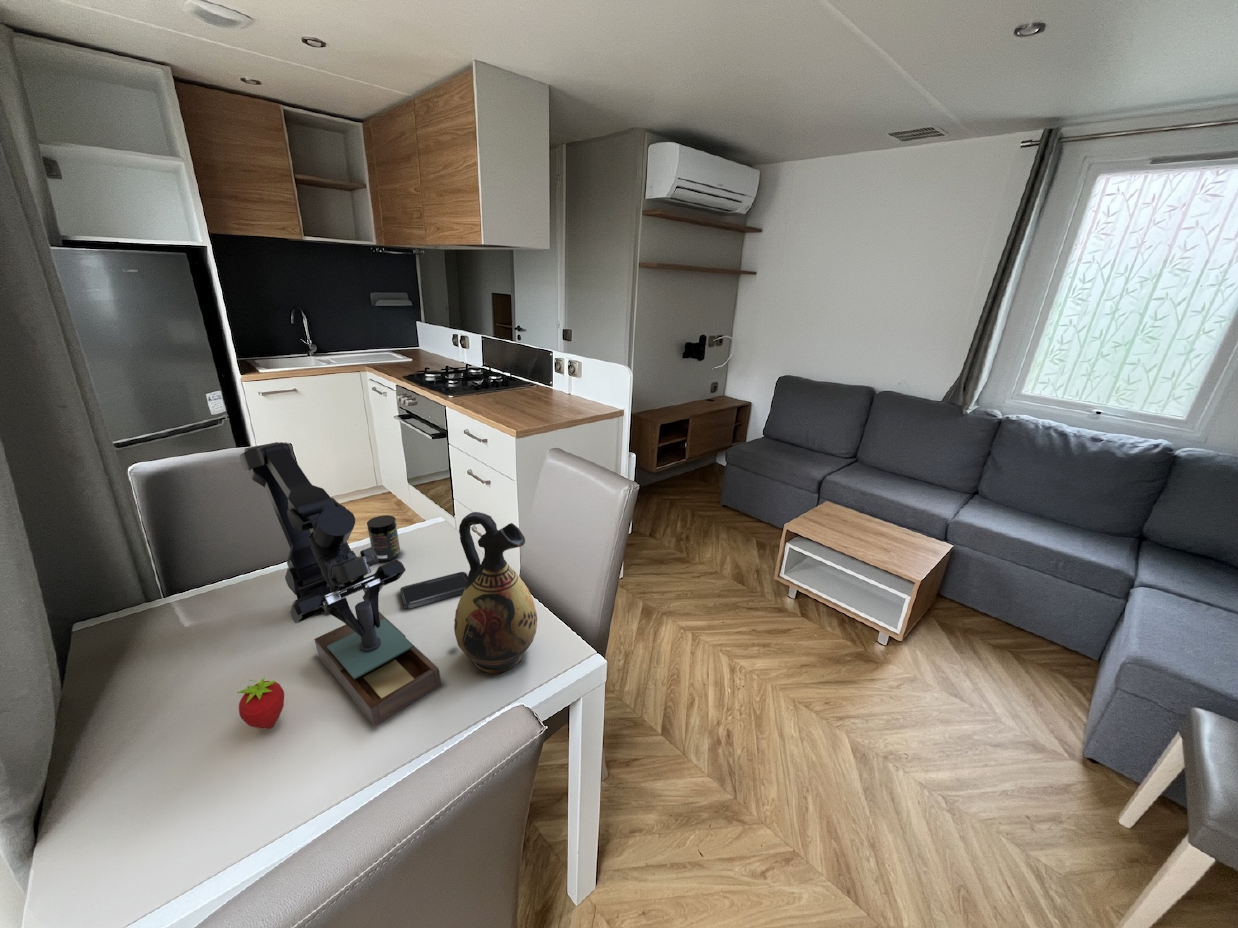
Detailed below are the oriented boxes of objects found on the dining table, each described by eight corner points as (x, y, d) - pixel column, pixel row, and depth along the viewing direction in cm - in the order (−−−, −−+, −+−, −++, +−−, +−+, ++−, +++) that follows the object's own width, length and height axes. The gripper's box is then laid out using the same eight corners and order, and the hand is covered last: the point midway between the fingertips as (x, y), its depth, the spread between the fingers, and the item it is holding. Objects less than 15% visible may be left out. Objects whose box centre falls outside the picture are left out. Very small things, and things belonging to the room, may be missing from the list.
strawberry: (244, 753, 76) (227, 703, 72) (251, 716, 82) (236, 669, 79) (289, 738, 78) (275, 689, 75) (293, 703, 85) (280, 657, 81)
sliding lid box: (318, 656, 95) (314, 638, 94) (380, 626, 104) (377, 609, 102) (374, 726, 81) (370, 707, 79) (441, 684, 89) (438, 666, 88)
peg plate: (327, 647, 91) (317, 605, 88) (385, 619, 99) (378, 579, 96) (354, 679, 84) (344, 635, 81) (414, 646, 92) (407, 604, 88)
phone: (472, 587, 115) (404, 605, 108) (473, 591, 116) (405, 609, 109) (464, 570, 122) (399, 586, 115) (465, 574, 122) (400, 591, 115)
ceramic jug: (551, 637, 102) (546, 506, 91) (517, 693, 88) (507, 546, 77) (477, 621, 106) (465, 494, 95) (434, 672, 92) (414, 530, 82)
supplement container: (403, 548, 133) (398, 514, 130) (398, 562, 127) (392, 526, 123) (376, 551, 132) (370, 516, 128) (370, 564, 126) (363, 528, 122)
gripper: (281, 560, 80) (320, 647, 77) (393, 521, 93) (431, 594, 90) (275, 582, 87) (311, 662, 84) (380, 544, 101) (414, 611, 98)
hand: (370, 631), depth 89 cm, fingers closed on peg plate, 3 cm apart
